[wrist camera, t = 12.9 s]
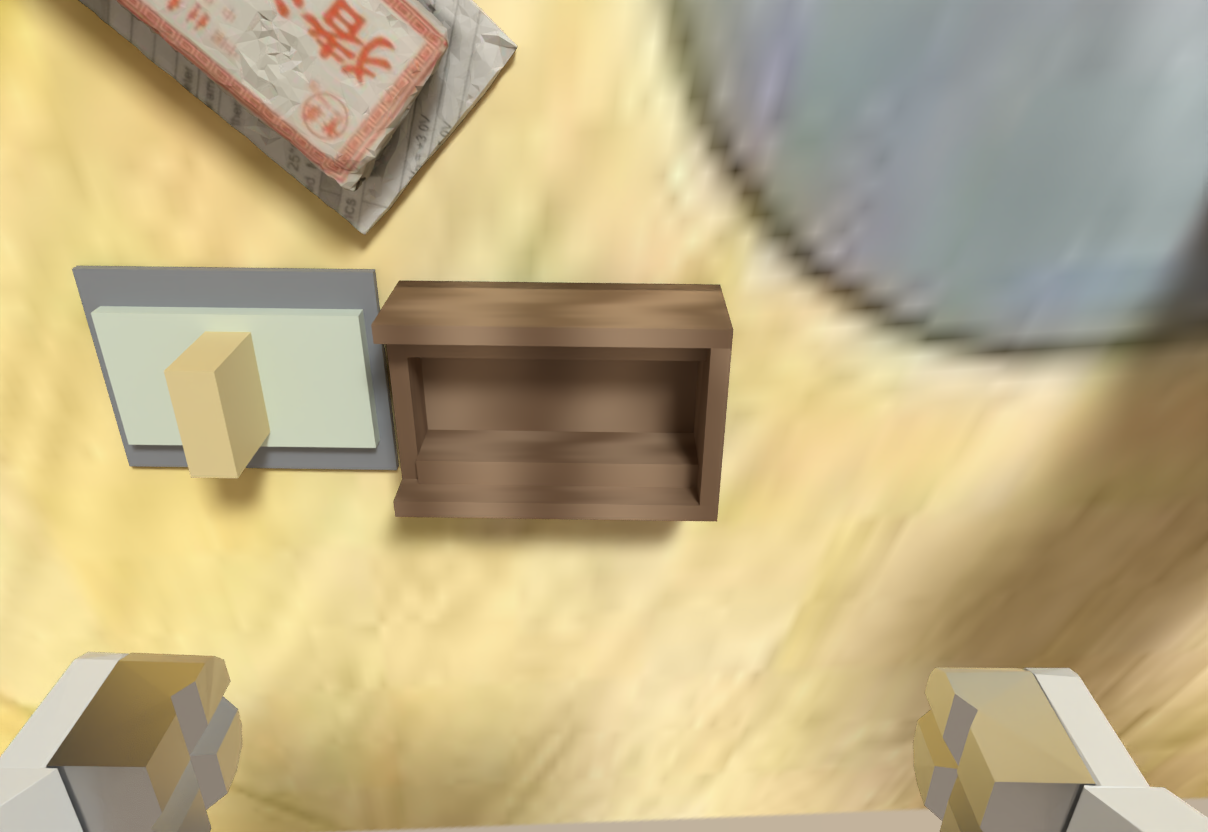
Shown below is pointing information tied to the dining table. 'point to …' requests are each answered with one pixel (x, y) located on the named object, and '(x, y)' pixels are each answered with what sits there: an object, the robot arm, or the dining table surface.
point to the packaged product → (327, 81)
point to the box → (558, 398)
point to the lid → (239, 380)
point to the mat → (249, 292)
